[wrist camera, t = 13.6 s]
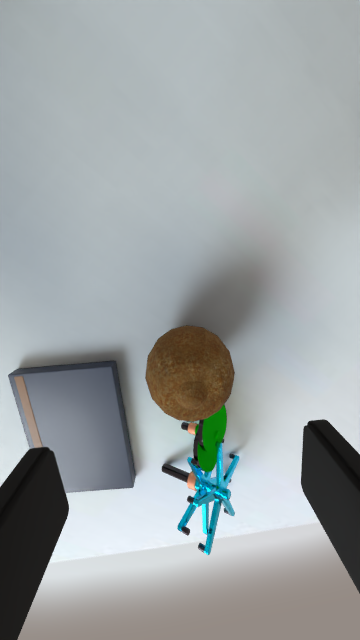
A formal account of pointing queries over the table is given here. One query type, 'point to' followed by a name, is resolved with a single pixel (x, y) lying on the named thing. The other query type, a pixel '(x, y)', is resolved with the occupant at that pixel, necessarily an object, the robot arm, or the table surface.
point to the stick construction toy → (206, 474)
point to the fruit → (190, 373)
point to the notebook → (77, 422)
